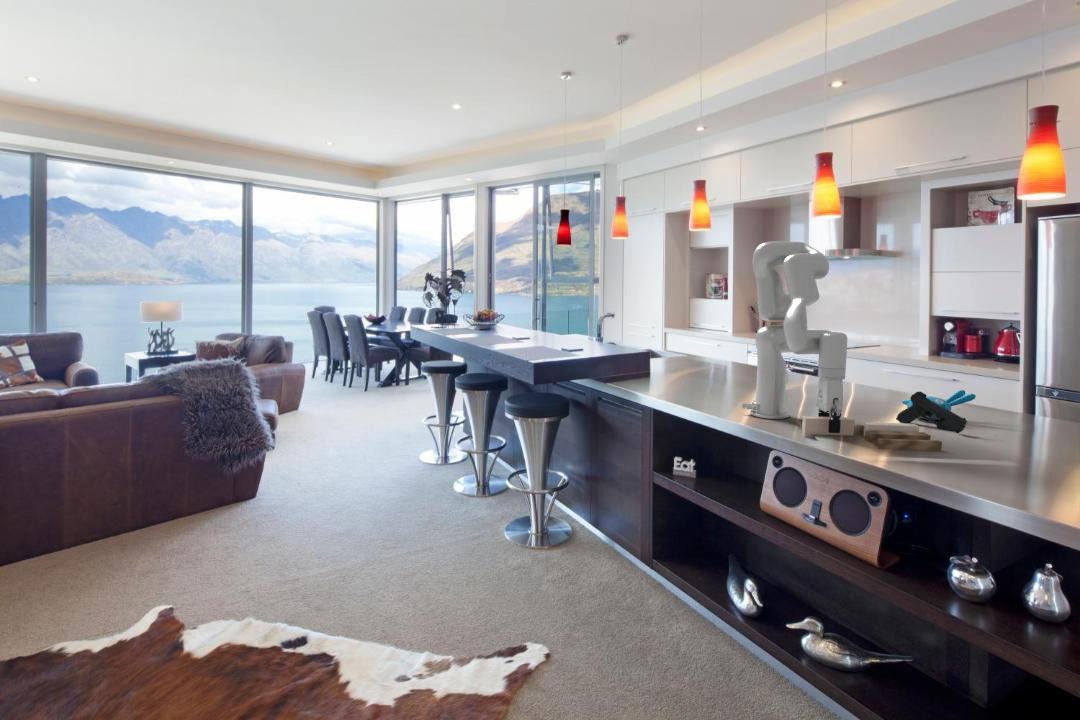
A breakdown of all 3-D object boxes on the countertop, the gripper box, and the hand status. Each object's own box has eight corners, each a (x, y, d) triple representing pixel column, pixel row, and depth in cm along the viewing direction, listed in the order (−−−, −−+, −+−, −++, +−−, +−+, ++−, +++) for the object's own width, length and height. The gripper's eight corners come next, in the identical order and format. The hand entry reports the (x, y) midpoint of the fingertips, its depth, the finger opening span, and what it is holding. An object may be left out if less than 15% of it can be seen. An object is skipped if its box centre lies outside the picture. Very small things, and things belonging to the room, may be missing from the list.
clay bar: (804, 437, 187) (805, 418, 186) (801, 435, 189) (802, 416, 189) (853, 439, 185) (854, 419, 184) (849, 436, 188) (850, 417, 187)
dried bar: (867, 437, 182) (868, 424, 181) (863, 435, 185) (864, 422, 184) (917, 439, 180) (919, 426, 179) (913, 436, 183) (914, 423, 182)
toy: (982, 428, 197) (985, 397, 196) (918, 425, 201) (920, 395, 199) (954, 414, 216) (956, 386, 215) (896, 412, 220) (898, 384, 219)
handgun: (896, 418, 203) (916, 388, 198) (948, 449, 193) (971, 418, 187) (894, 419, 202) (914, 389, 196) (946, 451, 191) (969, 420, 186)
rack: (879, 452, 171) (880, 439, 170) (856, 436, 187) (857, 425, 187) (941, 454, 168) (942, 441, 168) (912, 438, 185) (913, 426, 185)
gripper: (809, 369, 193) (807, 422, 195) (827, 377, 176) (824, 435, 178) (835, 369, 192) (832, 423, 194) (855, 377, 175) (852, 436, 177)
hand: (828, 428), depth 186 cm, fingers open, 9 cm apart
